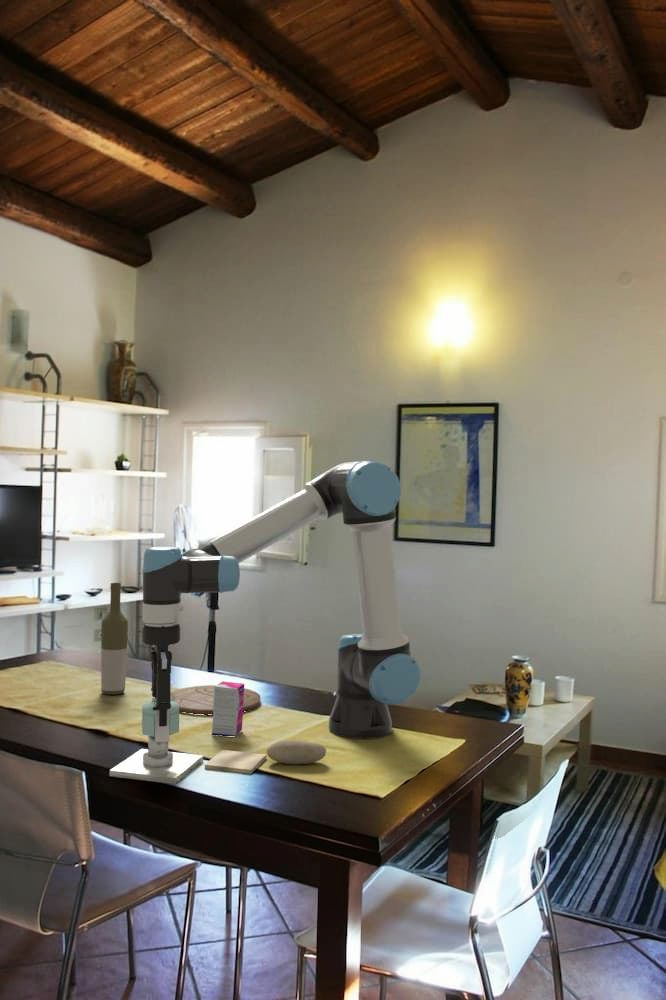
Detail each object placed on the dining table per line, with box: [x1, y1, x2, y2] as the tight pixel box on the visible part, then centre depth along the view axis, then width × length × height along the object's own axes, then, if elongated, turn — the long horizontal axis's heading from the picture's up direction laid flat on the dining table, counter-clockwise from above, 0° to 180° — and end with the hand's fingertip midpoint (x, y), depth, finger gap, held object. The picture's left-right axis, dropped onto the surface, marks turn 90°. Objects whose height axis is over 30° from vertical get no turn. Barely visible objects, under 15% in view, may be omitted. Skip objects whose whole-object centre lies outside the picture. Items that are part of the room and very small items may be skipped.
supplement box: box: [211, 681, 245, 737], centre depth 196 cm, size 6×6×12 cm
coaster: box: [204, 749, 267, 775], centre depth 176 cm, size 10×10×1 cm
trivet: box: [171, 684, 262, 715], centre depth 223 cm, size 25×25×2 cm
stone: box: [266, 739, 327, 765], centre depth 177 cm, size 6×6×12 cm
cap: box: [141, 700, 180, 737], centre depth 171 cm, size 7×7×6 cm
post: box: [109, 736, 204, 785], centre depth 171 cm, size 14×14×7 cm
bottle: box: [100, 582, 129, 696], centre depth 229 cm, size 7×7×30 cm
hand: (160, 735), depth 171 cm, fingers closed on cap, 7 cm apart
